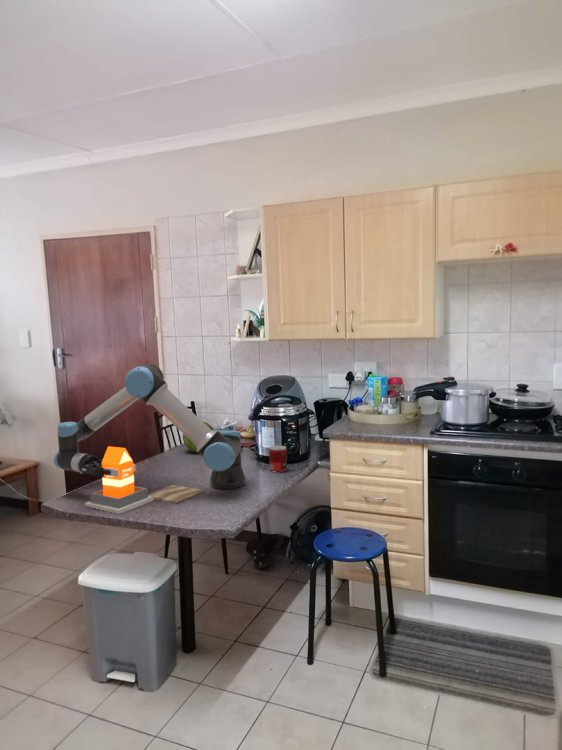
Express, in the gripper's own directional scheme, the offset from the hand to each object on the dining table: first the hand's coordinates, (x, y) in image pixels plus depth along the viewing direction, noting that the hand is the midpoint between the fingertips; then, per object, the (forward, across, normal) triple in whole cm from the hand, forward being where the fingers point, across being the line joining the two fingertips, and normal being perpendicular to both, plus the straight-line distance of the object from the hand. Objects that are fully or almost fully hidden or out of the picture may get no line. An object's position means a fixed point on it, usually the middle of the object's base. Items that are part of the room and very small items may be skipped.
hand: (126, 470), depth 214 cm
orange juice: (-5, 0, -12) cm, 13 cm away
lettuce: (-33, -85, -14) cm, 92 cm away
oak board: (+7, -18, -14) cm, 24 cm away
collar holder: (-5, 0, -14) cm, 14 cm away
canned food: (+25, -68, -14) cm, 74 cm away
